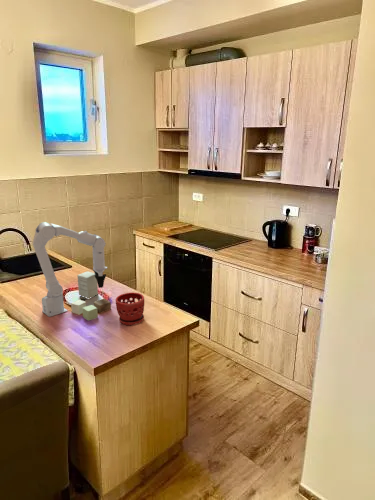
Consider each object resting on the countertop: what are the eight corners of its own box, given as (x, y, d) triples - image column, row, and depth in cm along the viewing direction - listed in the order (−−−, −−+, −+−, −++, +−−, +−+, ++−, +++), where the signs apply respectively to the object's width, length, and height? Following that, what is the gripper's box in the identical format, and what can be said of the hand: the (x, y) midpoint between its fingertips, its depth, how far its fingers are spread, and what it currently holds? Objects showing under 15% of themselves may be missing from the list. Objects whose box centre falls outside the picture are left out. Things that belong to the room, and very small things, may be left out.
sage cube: (88, 320, 170) (87, 311, 168) (83, 317, 173) (82, 307, 172) (97, 317, 173) (97, 308, 172) (92, 314, 176) (91, 304, 175)
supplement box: (88, 292, 202) (87, 270, 198) (98, 295, 198) (97, 273, 195) (78, 296, 196) (76, 274, 192) (88, 299, 192) (86, 277, 188)
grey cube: (79, 315, 175) (78, 305, 174) (71, 312, 178) (71, 303, 176) (86, 311, 179) (86, 301, 178) (79, 308, 182) (78, 299, 180)
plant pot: (131, 312, 179) (131, 289, 176) (150, 320, 171) (150, 296, 168) (110, 321, 169) (109, 297, 166) (129, 330, 161) (128, 306, 158)
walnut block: (100, 313, 178) (99, 305, 177) (94, 309, 182) (93, 301, 181) (110, 309, 182) (110, 302, 181) (104, 305, 186) (104, 298, 185)
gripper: (108, 263, 178) (109, 289, 182) (105, 254, 191) (106, 279, 195) (93, 264, 176) (95, 290, 179) (91, 255, 189) (92, 280, 193)
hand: (100, 284), depth 187 cm, fingers open, 7 cm apart
